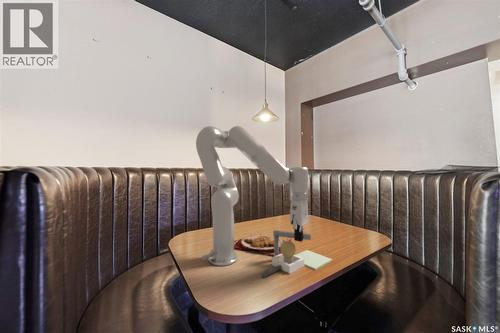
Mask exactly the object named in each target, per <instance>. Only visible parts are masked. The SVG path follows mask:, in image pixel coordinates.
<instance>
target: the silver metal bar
mask: <svg viewBox="0 0 500 333" xmlns="http://www.w3.org/2000/svg"><path fill="white" fill-rule="evenodd" d="M272 232H273V233H272V234H273V235H272V236H273V237H274V236H276V237H278V236H279V237H281V238H287V239H289V238H290V239H294V231H292V232H291V231H284V230H283V231H282V230H273V231H272ZM311 236H312V235H311V233H303V240H307V241H311V240H312V237H311Z"/></svg>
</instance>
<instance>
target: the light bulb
mask: <svg viewBox="0 0 500 333" xmlns="http://www.w3.org/2000/svg"><path fill="white" fill-rule="evenodd" d="M291 241H292V240H291ZM291 241H289V240H287V241H286V240H285V241H284V242H283V243H282V244H281V246H280V250H281V253H282V255H283V256H284V258H283V259H284V260H283V262H286V263H288V264H291V263H293V261H292V260H293V259H292V257H293V255H296V251H297V250H296V248H297V247H296V245H295V244H294V242H291Z"/></svg>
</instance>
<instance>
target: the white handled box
mask: <svg viewBox="0 0 500 333" xmlns="http://www.w3.org/2000/svg"><path fill="white" fill-rule="evenodd" d="M273 237H274V254H273V257H271V265H272V266H273V267H272V268H269V269H268V270H265V271H263V272H262V273H261V277H262V278H265V277H269V276H270V275H272V274H274V273H276V272H278V271H280V270H282V271H283V272H285V273H287V274H289V275H290V274H292V273H294V272H296V271H298V270H300V269H302V268H303V267H305V265H304V259H303V258H301V257H299V256H296V254H294V255H293V257H292V259H293V260H292V261H293V262H292V263H291V264H288V263H286V262H284V261H283V260H284V259H283V258H284V256H283V255H282V254H279V239H280V238H279V236H278V237H276V236H273Z"/></svg>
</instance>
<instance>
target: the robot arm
mask: <svg viewBox="0 0 500 333" xmlns="http://www.w3.org/2000/svg"><path fill="white" fill-rule="evenodd" d="M195 148H196V149H195V150H196V152H197V154H198V157H199V160H200V164H201V167H202V170H203V173H204V176H205V179H206V181H207V184H208V185H209V186H210V187H213V188H217V190H216V191H214V193H212V196H211V199H210V203H211V204H210V205H211V212H212V213H211V214H212V249H210V252H208V253H207V254H202V257H201V258H202V261H205V260H208V261H209V263H210V264H212V265H215V266H220V267H222V266H223V267H224V266H229V265H232V264H234V263H236V262H237V261H238V258H239V257H238V254H237V253H236V252H235V249H234V244H235V242H234V241H235V214H234V206H235V205H236V204H238V202H239V199H240V194H239V191H238V188H237V184H236V182H235V179H234V176H233V174H232V172H231V171H230V169H229V168H227V167H225V166H223V165H222V162H221V160H220V159H221V158H220V156H219V154H218V152H217V150H216V148H218V149H230V148H231V149H233V148H234V149H235V148H236V149H237V150H239V152H241V153H242V154H243V155H244V156H245V157H246V158H247V159H248V160H249V161H250V162H251V163H252V164H253V165H254V166H256V168H257V169H258V170H259V171H260V172H261V173H262V174H264V175H265V176H266V178H268V179H269V180H270V181H271V182H272V183H274V184H275V185H278V186H279V185H284V184H288V183H289V200H290V206H289V207H290V208H289V222H290V225H292V229H293V233H294V238H293V239H294V241H295V242H299V243H300V242H303V241H304V239H303V234H304V225H306V224H307V223H308V222H309V206H308V205H309V204H308V201H309V169H308V167H306V166H292V167H288V166H284V165H283V164H282V163H281V162H279V161H278V159H276V158H275V157H274V156H273V155H272V154H271V153H270V152H269V151H268V150H267V149H266V147H265V146H264V145H263V144H262V143H261V142H259V141H258V140H257V139H256V138H255V137H254V136H253V135H251V133H250V132H248V131H247V130H246V129H245V128H244V127H243V126H239V125H235V126H233V127H231V128H230V129H229V131H228V130H226V131H225V130H221V129H219V128H217V127H215V126H212V125H210V126H205V127H203V128H202V129H201V130H200V131H199V132H198V134H197V136H196V140H195Z"/></svg>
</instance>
